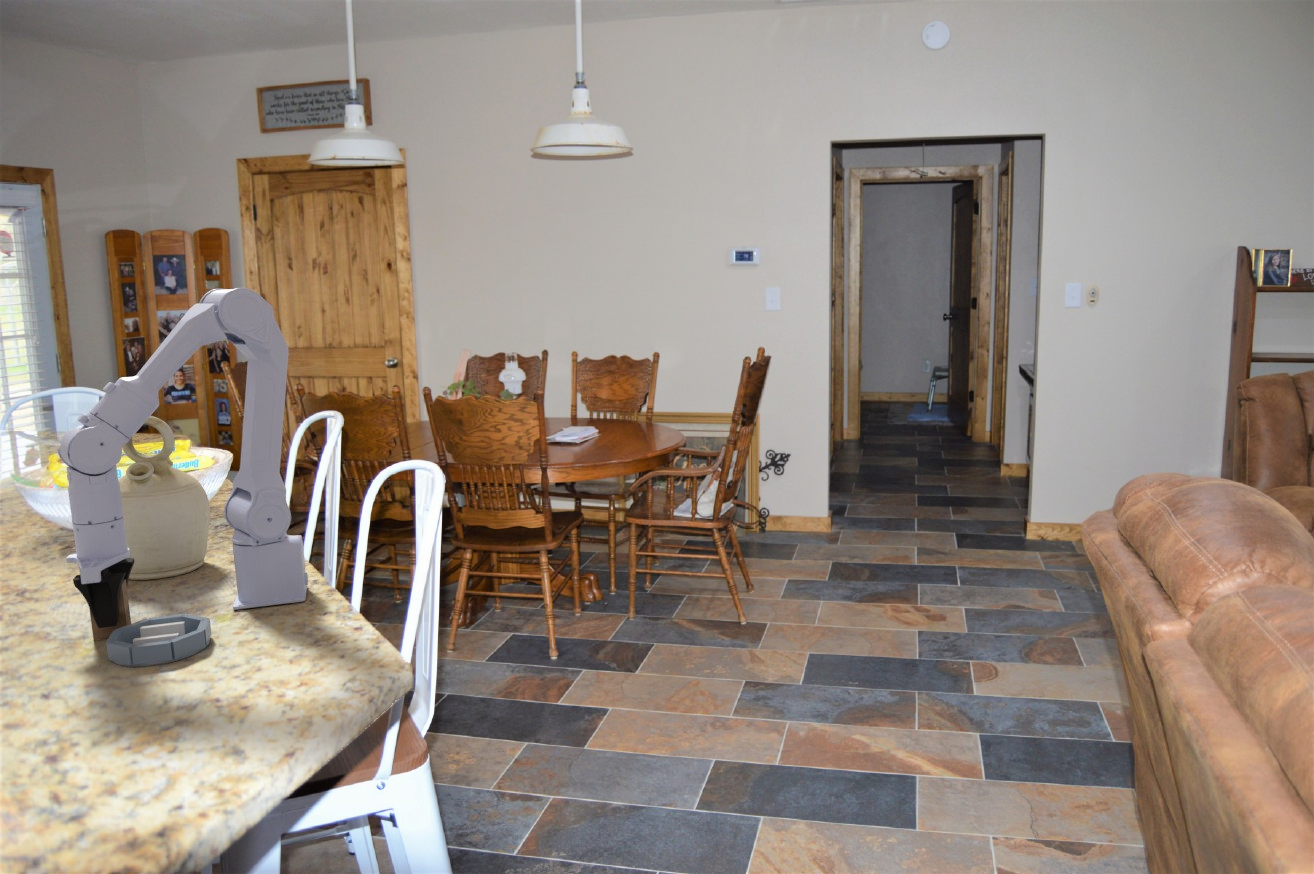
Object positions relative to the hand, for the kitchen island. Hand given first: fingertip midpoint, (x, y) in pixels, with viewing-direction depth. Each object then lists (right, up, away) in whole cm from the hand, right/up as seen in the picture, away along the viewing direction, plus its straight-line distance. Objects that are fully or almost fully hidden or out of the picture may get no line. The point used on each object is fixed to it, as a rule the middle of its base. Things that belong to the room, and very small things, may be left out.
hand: (111, 621), depth 126 cm
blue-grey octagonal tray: (+9, -3, -5) cm, 11 cm away
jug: (-8, +2, +30) cm, 31 cm away
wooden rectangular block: (0, -2, 0) cm, 2 cm away
